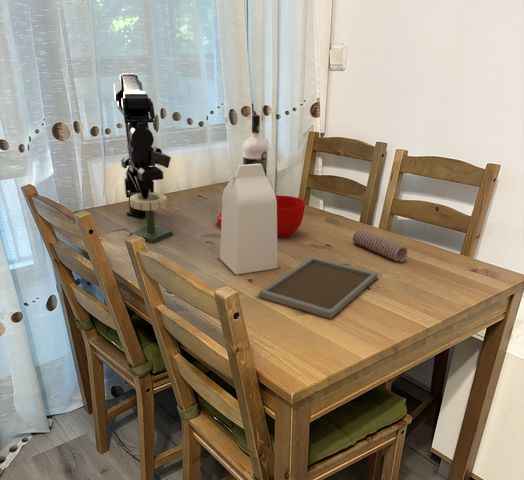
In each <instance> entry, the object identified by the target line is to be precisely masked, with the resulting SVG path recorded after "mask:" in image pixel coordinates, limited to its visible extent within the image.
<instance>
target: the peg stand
mask: <svg viewBox="0 0 524 480" xmlns="http://www.w3.org/2000/svg"><path fill="white" fill-rule="evenodd" d="M145 213H146V216H145V224H146V226H143V227H141V228H138V229H136V230H133V231H131V232H129V236H130V235H133V234H135V235H138V236H141V237H143V238H144V239H145V241H144V242H148V243H151V244H156V243H157V242H160V241H162V240H164V239H166V238H168V237H170V236H172V235H173V230H171V229H167V228H164V227H161V226H156V223H155V210H150V211H146V210H145Z"/></svg>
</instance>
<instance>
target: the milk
mask: <svg viewBox="0 0 524 480" xmlns="http://www.w3.org/2000/svg"><path fill="white" fill-rule="evenodd" d="M276 196H277V195H276V193H275V192H274V190H273V187H272V185H271V184H270V181H269V180H268V177H267V175H266V176H265V172H264V169H263V166H262V164H247V165H243V164H238V165H237V167H236V170H235V172H234V174H233V177H232V178H231V179H230V180H229V182H228V183H227V185H226V186H225V187H224V188H223V191H222V199H221V213H222V219H221V228H220V246H219V247H220V248H219V260H220V261H221V262H222V263H224V264H225V265H226V267H228V268H229V269H230V271H232V272H233V273H234V275H244V274H249V273H255V272H260V271H268V270H275V269H278V267H279V266H278V263H279V262H278V237H277V200H276Z"/></svg>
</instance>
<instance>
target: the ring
mask: <svg viewBox="0 0 524 480" xmlns="http://www.w3.org/2000/svg"><path fill="white" fill-rule="evenodd" d="M130 206H131V207H132V208H134V209H138V210H146V211H150V210H154V211H158V210H163V209H165V208H167V206H168V196H167V195H166V194H164V193H159V192H155V191H154V192H149V193H148V198H147V199H143V197H142V194H141V193H139V194H134V195H132V196H131V197H130ZM130 206H129V207H130Z"/></svg>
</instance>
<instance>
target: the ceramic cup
mask: <svg viewBox="0 0 524 480" xmlns="http://www.w3.org/2000/svg"><path fill="white" fill-rule="evenodd" d="M275 196H276V200H277V238H289V237H292V236H293V235H294V234H295V233H296V232H297V231H298V230H299V228H300V226H301V224H302V222H303V219H304V215H305V209H306V202H305V200H304V199H301V198H299V197H295V196H291V195H290V196H289V195H275Z"/></svg>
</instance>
